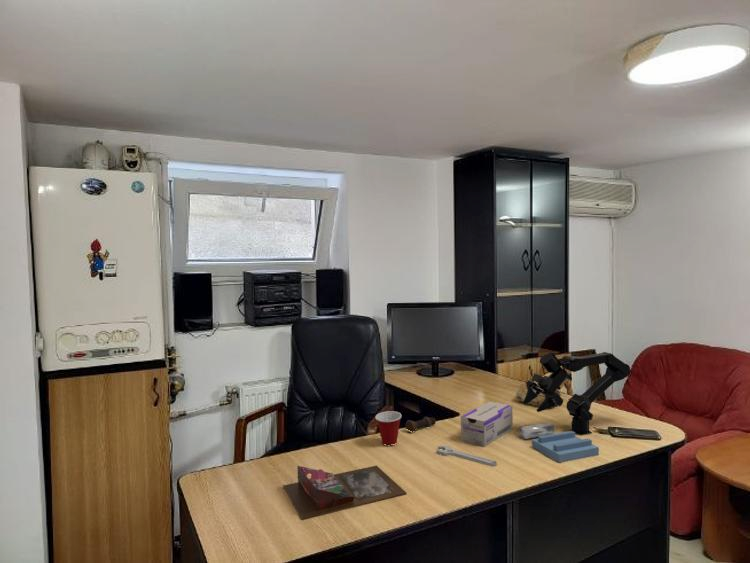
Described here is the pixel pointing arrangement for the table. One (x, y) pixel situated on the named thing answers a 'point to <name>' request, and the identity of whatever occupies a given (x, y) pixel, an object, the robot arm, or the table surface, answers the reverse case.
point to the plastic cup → (388, 426)
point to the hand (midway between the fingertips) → (530, 407)
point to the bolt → (420, 423)
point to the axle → (536, 430)
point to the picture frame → (339, 490)
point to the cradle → (565, 446)
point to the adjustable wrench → (464, 455)
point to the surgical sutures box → (486, 423)
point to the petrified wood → (536, 401)
